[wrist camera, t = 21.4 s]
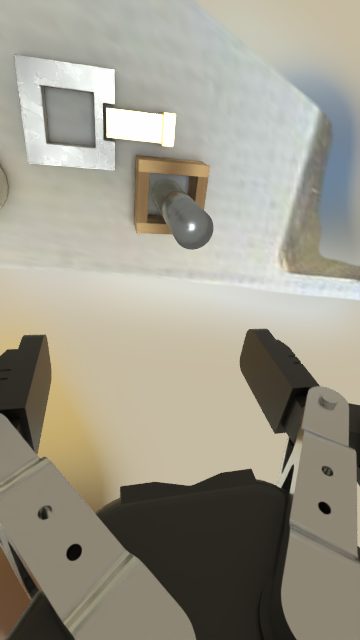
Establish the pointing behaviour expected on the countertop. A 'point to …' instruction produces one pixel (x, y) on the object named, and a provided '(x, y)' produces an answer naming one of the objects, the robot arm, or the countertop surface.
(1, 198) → the can
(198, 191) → the brown square frame
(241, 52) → the countertop surface
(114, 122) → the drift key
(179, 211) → the grey capsule rod
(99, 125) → the socket block
